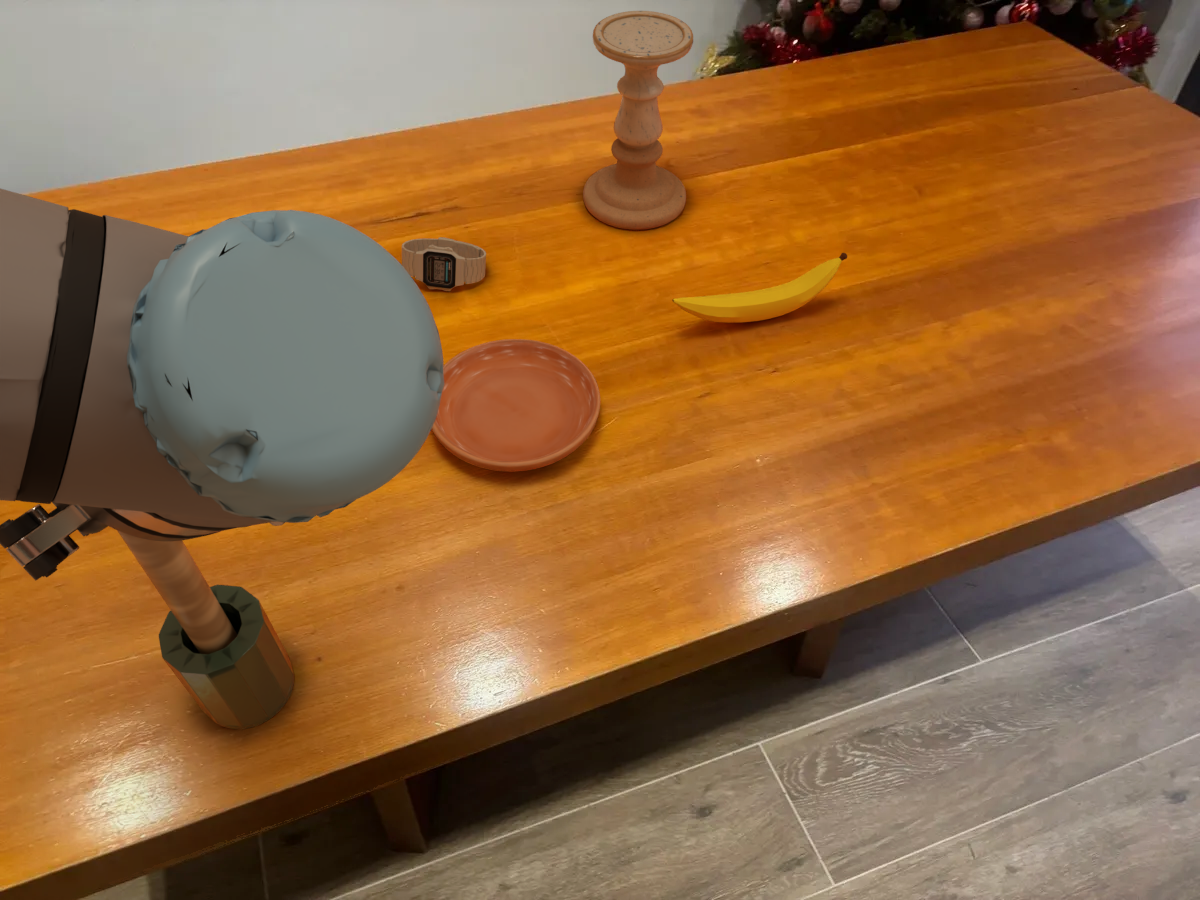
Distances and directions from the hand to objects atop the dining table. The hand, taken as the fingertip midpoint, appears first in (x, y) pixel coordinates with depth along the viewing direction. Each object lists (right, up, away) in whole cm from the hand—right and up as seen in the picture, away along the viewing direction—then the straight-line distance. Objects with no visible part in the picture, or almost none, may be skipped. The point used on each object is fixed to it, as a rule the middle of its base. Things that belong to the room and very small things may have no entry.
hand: (103, 491), depth 53 cm
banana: (+45, +16, +42) cm, 64 cm away
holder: (+3, -15, +15) cm, 21 cm away
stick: (+3, -11, +10) cm, 15 cm away
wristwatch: (+12, +22, +46) cm, 52 cm away
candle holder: (+33, +32, +55) cm, 72 cm away
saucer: (+21, +5, +32) cm, 39 cm away
